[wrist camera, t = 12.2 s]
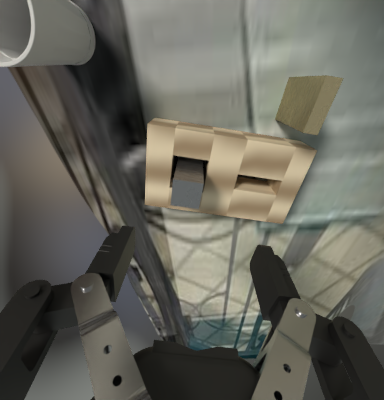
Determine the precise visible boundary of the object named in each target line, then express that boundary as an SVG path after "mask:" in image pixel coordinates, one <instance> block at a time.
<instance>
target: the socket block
mask: <svg viewBox="0 0 384 400" xmlns="http://www.w3.org/2000/svg"><path fill="white" fill-rule="evenodd" d="M316 152H317V150H315V149H313V148H312V147H310V146H308V145H306V144H305V143H303V142H301V141H298V140H291V139H285V138H279V137H273V136H267V135H260V134H254V133H248V132H242V131H235V130H229V129H223V128H217V127H211V126H204V125H198V124H192V123H186V122H179V121H173V120H167V119H161V118H154V119H153V120H152V121H150V122H149V123H148V124H147V155H146V186H145V205H151V206H158V207H165V208H172V209H179V210H187V211H194V212H201V213H208V214H215V215H222V216H230V217H237V218H244V219H251V220H258V221H265V222H273V223H280V224H283V222H284V220H285V218H286V216H287V213H288V211H289V209H290V207H291V205H292V203H293V201H294V199H295V197H296V194H297V192H298V190H299V188H300V186H301V184H302V182H303V180H304V178H305V175H306V173H307V171H308V169H309V167H310V165H311V163H312V161H313V158H314V156H315V154H316ZM175 156H182V157H188V158H195V159H201V160H206V163H205V169H204V174H203V177H204V185H203V190H202V196H201V201H200V206H199V209H193V208H186V207H179V206H172V205H170V204H171V195H172V185H173V178H174V174H173V172H174V162H175ZM238 174H240V175H247V176H253V177H260V178H267V181H263V180H256V179H249V178H243V177H237V176H238Z"/></svg>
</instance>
